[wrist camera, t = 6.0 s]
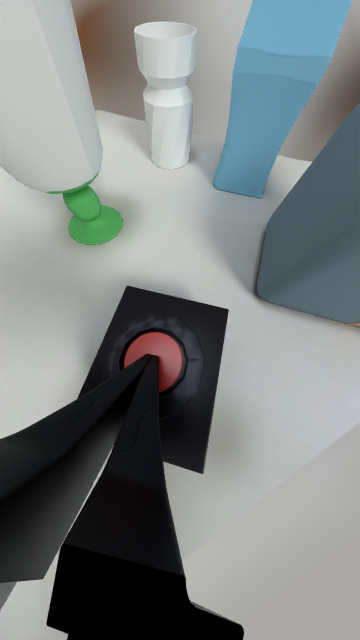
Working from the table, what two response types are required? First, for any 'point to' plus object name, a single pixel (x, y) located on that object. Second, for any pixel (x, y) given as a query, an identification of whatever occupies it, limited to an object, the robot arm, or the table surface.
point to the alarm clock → (319, 235)
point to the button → (160, 347)
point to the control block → (196, 374)
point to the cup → (51, 113)
